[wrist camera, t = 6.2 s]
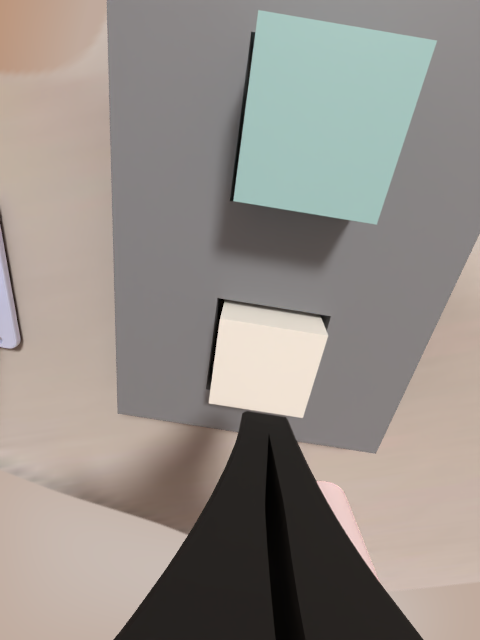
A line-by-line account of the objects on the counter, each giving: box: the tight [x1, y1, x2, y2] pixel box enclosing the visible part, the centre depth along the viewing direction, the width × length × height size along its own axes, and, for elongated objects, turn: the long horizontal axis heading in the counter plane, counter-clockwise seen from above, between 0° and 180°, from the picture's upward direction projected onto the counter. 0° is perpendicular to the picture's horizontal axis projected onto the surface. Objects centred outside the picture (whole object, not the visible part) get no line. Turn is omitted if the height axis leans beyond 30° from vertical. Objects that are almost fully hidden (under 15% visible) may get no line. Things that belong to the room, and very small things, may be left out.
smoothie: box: [316, 481, 381, 584], centre depth 16 cm, size 6×6×14 cm
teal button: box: [233, 10, 437, 225], centre depth 10 cm, size 4×4×3 cm
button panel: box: [107, 0, 480, 454], centre depth 12 cm, size 14×28×2 cm, turn 172°
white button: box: [209, 299, 328, 418], centre depth 15 cm, size 4×4×3 cm
